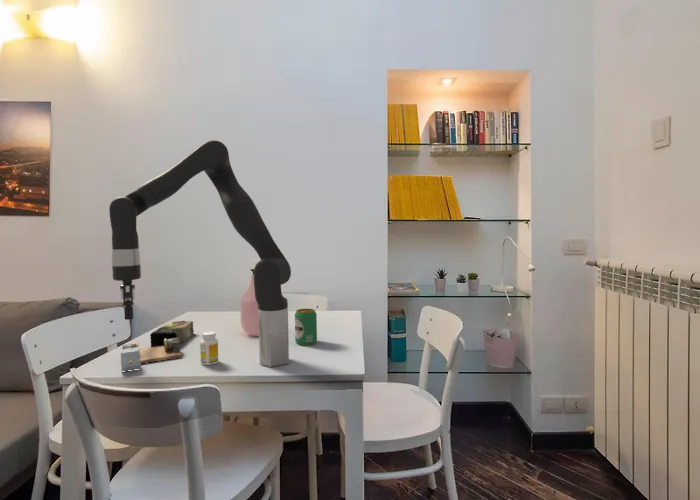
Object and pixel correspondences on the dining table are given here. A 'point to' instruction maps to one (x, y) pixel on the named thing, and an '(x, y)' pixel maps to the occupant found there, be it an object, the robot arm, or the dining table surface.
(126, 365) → the block
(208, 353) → the supplement bottle
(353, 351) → the dining table surface
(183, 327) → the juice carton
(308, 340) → the beverage can
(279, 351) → the robot arm
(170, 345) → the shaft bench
